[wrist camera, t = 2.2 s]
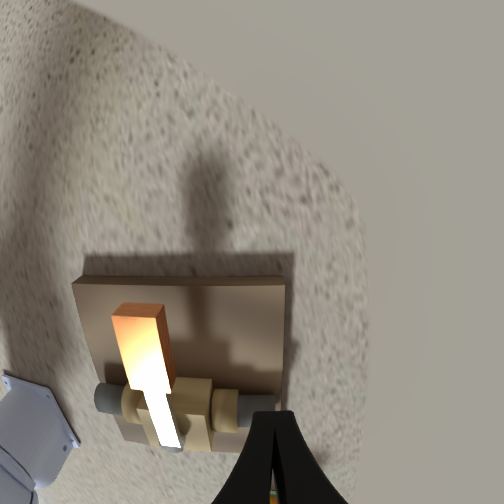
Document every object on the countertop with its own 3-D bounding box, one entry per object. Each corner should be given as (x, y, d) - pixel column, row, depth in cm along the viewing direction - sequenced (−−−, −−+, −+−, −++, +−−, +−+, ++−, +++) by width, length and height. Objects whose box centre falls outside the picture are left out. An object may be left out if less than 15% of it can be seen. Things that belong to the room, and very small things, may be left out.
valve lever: (192, 443, 17) (189, 458, 16) (160, 439, 17) (156, 454, 16) (164, 303, 14) (155, 317, 13) (122, 302, 14) (111, 315, 13)
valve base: (277, 440, 24) (279, 485, 19) (129, 429, 24) (113, 468, 19) (283, 275, 19) (291, 315, 14) (81, 275, 19) (42, 306, 15)
